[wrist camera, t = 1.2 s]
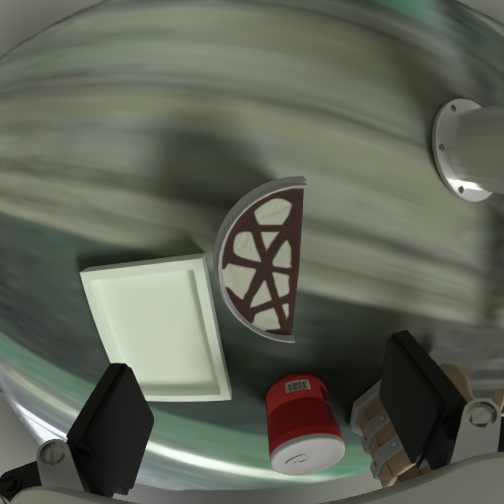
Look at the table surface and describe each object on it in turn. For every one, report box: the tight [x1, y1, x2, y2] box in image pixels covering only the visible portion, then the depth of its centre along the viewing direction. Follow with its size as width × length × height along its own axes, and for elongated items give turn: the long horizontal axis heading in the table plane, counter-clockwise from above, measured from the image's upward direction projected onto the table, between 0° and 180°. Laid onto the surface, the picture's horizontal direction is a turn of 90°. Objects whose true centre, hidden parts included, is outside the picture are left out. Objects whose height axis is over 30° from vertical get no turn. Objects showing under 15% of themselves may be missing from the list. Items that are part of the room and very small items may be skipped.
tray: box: [80, 253, 232, 401], centre depth 31 cm, size 14×18×2 cm
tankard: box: [349, 363, 504, 488], centre depth 28 cm, size 20×13×15 cm, turn 140°
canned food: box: [266, 373, 345, 476], centre depth 29 cm, size 8×8×11 cm
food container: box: [213, 176, 309, 343], centre depth 24 cm, size 12×6×10 cm, turn 178°
